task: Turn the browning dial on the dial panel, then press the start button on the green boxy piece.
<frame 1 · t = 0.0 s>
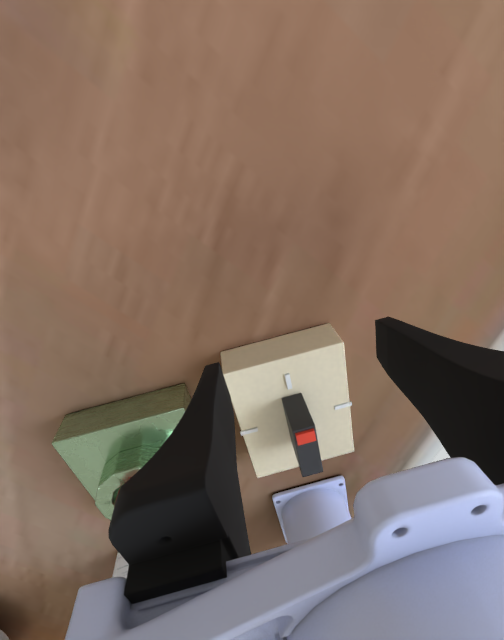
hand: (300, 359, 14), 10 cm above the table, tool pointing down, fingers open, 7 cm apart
dial panel: (287, 393, 29), on the table
browning dial: (302, 435, 24), point 5 cm above the table, hinge at 0.0°
green boxy piece: (152, 447, 29), on the table
start button: (142, 505, 25), point 5 cm above the table, slide at 0.1 cm
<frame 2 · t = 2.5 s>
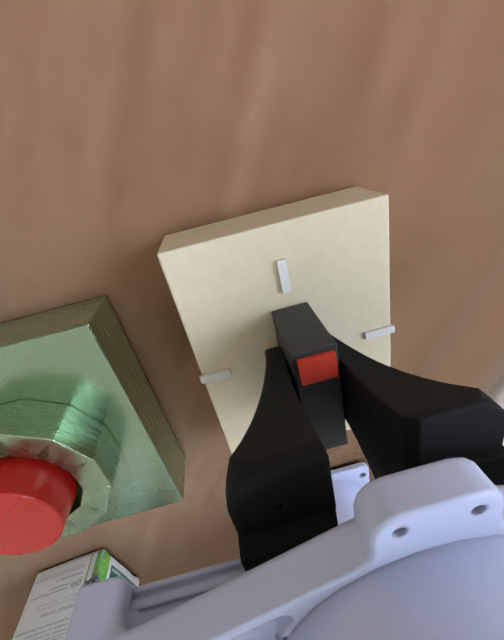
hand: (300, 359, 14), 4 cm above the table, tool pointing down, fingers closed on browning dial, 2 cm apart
dial panel: (282, 322, 18), on the table
browning dial: (309, 377, 13), point 5 cm above the table, hinge at 0.0°, touching gripper
syrup box: (91, 572, 26), on the table
green boxy piece: (66, 411, 18), on the table
start button: (18, 505, 13), point 5 cm above the table, slide at 0.1 cm
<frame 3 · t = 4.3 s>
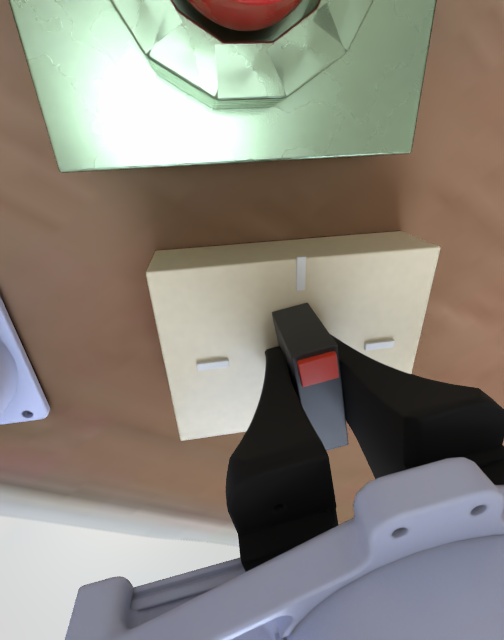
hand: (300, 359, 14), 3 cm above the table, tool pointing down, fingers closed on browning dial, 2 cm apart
dial panel: (283, 323, 18), on the table
browning dial: (310, 378, 13), point 5 cm above the table, hinge at 100.0°, touching gripper
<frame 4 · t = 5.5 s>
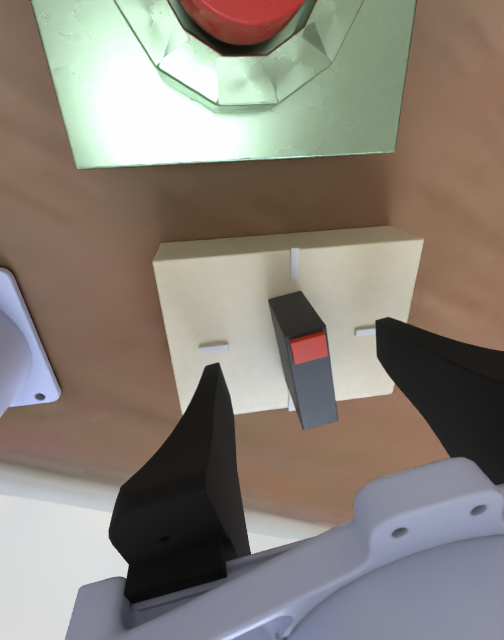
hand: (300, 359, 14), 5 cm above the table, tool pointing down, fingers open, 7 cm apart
dial panel: (279, 312, 19), on the table
browning dial: (303, 360, 14), point 5 cm above the table, hinge at 100.1°
green boxy piece: (227, 13, 12), on the table
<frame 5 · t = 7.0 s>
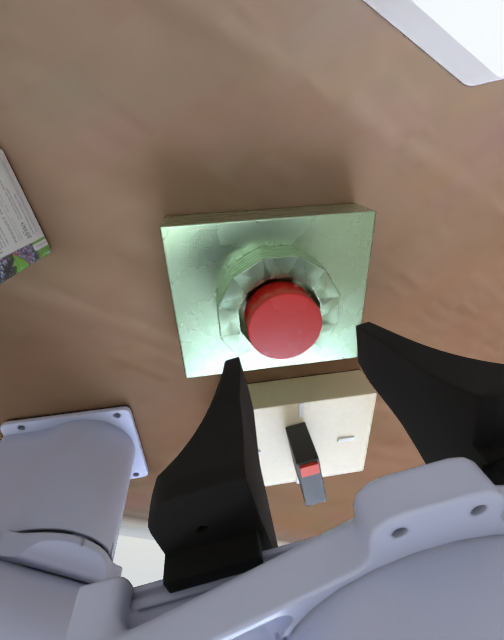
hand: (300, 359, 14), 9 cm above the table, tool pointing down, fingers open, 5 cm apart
dial panel: (290, 418, 29), on the table
browning dial: (306, 465, 25), point 5 cm above the table, hinge at 100.1°
green boxy piece: (264, 284, 23), on the table
start button: (282, 320, 18), point 5 cm above the table, slide at 0.1 cm
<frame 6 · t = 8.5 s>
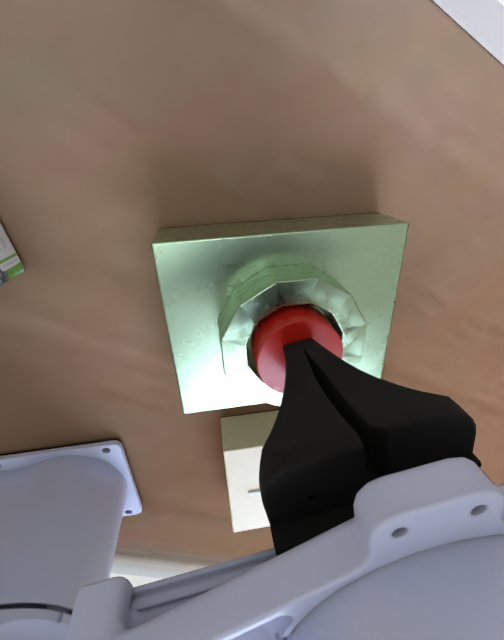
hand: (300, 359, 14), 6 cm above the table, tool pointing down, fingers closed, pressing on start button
dial panel: (300, 448, 26), on the table
green boxy piece: (273, 304, 20), on the table
start button: (295, 349, 15), point 5 cm above the table, slide at -0.3 cm, touching gripper
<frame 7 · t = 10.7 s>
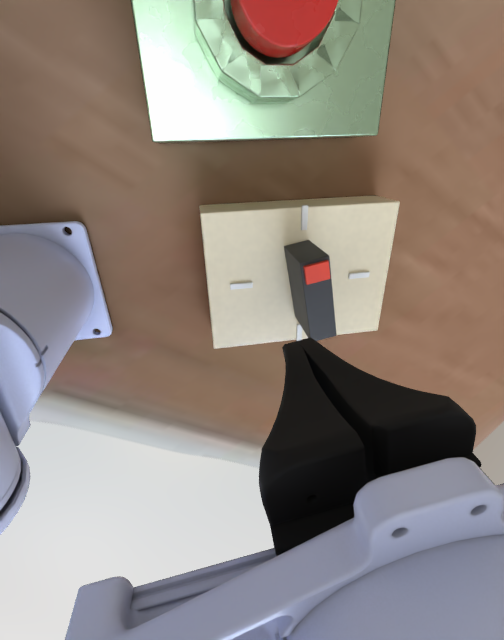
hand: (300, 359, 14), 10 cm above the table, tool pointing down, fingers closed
dial panel: (289, 265, 23), on the table
browning dial: (310, 291, 19), point 5 cm above the table, hinge at 100.1°
green boxy piece: (258, 32, 17), on the table
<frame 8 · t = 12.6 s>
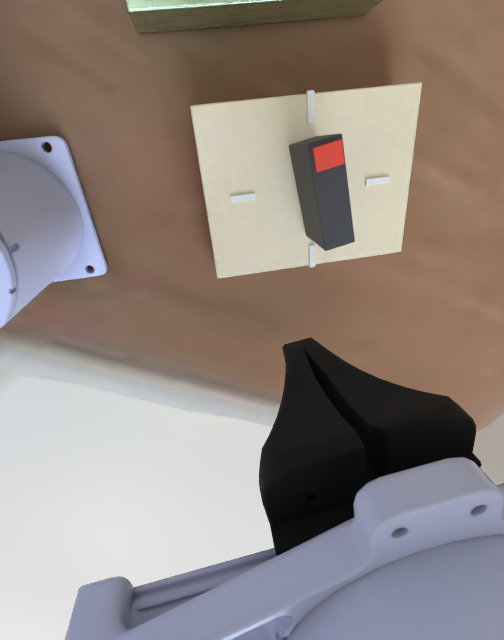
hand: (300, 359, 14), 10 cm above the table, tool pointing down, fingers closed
dial panel: (296, 184, 21), on the table
browning dial: (322, 193, 17), point 5 cm above the table, hinge at 100.1°
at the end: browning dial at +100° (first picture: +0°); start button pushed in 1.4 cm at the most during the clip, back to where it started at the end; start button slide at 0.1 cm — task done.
